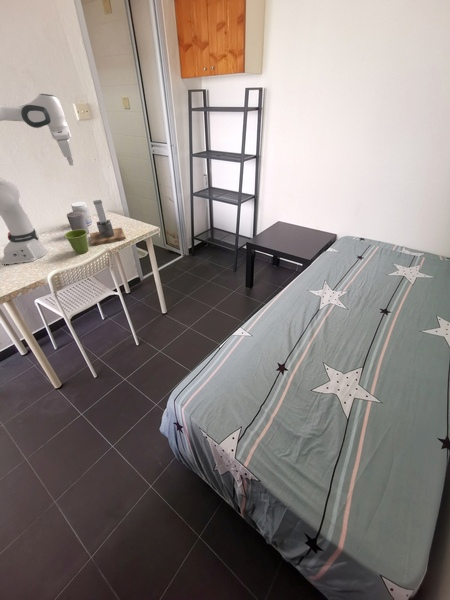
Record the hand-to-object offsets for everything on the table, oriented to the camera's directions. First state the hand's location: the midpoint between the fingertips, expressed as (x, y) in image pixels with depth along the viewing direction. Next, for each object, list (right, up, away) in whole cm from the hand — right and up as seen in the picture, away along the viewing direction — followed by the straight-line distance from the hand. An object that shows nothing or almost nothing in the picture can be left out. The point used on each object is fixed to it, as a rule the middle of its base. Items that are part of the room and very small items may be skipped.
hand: (71, 163), depth 150 cm
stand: (+7, -33, +31) cm, 45 cm away
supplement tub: (-18, -19, +51) cm, 57 cm away
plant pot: (-2, -44, +16) cm, 47 cm away
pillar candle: (-13, -29, +37) cm, 49 cm away
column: (+7, -31, +29) cm, 43 cm away
